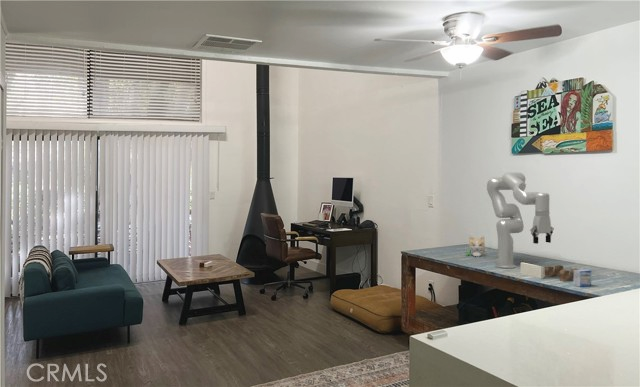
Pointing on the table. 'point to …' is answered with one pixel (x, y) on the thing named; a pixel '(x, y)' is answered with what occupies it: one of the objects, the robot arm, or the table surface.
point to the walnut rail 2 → (567, 275)
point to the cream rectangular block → (532, 270)
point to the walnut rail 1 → (553, 271)
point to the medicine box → (582, 278)
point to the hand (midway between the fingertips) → (542, 242)
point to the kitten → (476, 246)
